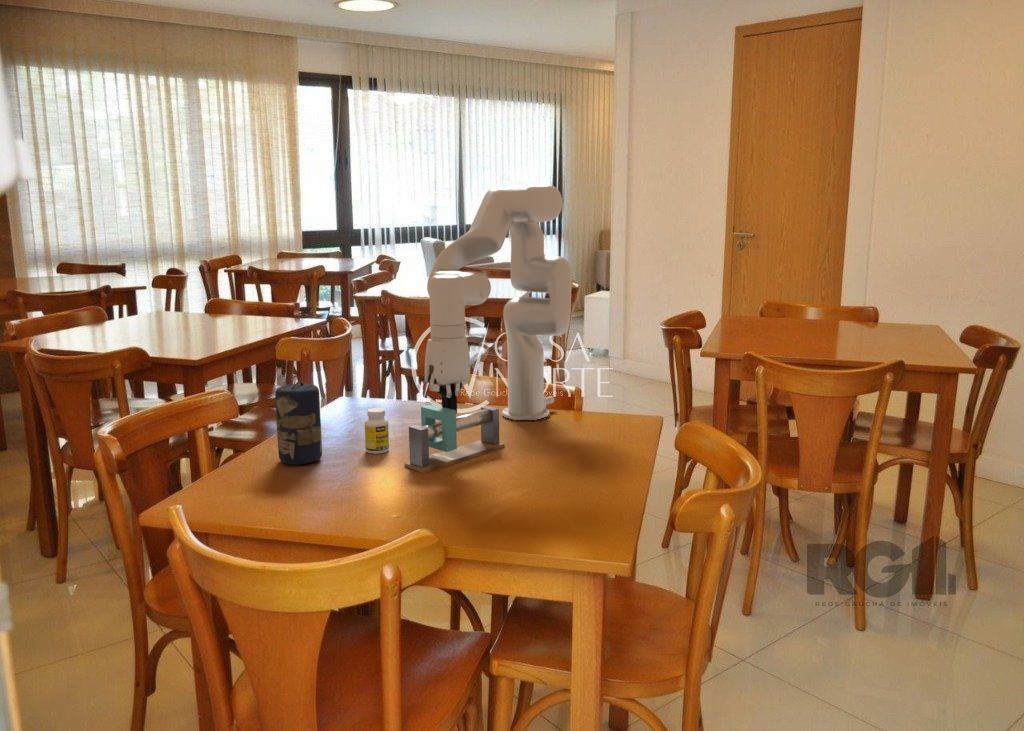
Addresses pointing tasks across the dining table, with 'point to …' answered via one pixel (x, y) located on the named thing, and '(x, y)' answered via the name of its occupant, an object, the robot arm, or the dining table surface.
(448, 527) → the dining table surface
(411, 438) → the rail
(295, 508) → the dining table surface
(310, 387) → the canister
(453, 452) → the base board
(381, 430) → the supplement bottle
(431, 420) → the teal rectangular frame
